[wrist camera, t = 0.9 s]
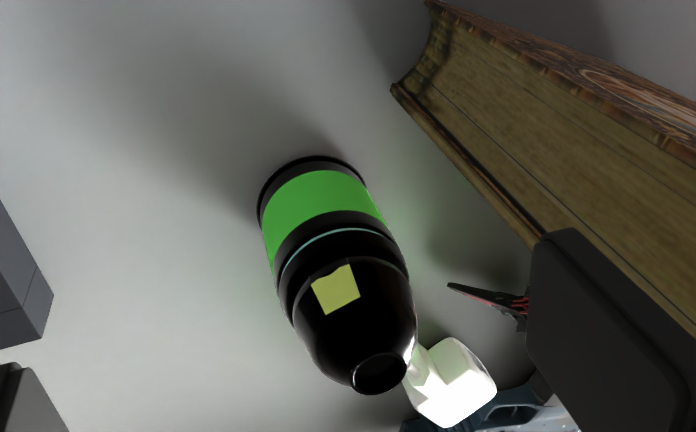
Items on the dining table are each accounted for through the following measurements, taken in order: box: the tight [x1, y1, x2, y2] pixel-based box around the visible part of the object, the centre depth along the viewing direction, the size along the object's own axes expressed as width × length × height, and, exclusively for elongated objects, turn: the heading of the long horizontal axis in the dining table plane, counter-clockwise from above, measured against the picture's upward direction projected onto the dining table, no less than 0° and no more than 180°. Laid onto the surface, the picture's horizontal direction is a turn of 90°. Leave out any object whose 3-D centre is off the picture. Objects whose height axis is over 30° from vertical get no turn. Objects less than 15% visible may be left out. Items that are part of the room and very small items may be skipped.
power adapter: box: [402, 337, 497, 428], centre depth 45 cm, size 11×5×6 cm
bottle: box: [257, 155, 418, 395], centre depth 31 cm, size 7×7×15 cm
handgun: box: [399, 368, 579, 432], centre depth 51 cm, size 3×18×12 cm
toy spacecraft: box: [447, 282, 530, 333], centre depth 39 cm, size 4×15×10 cm
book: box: [390, 0, 696, 339], centre depth 26 cm, size 16×6×25 cm, turn 70°
